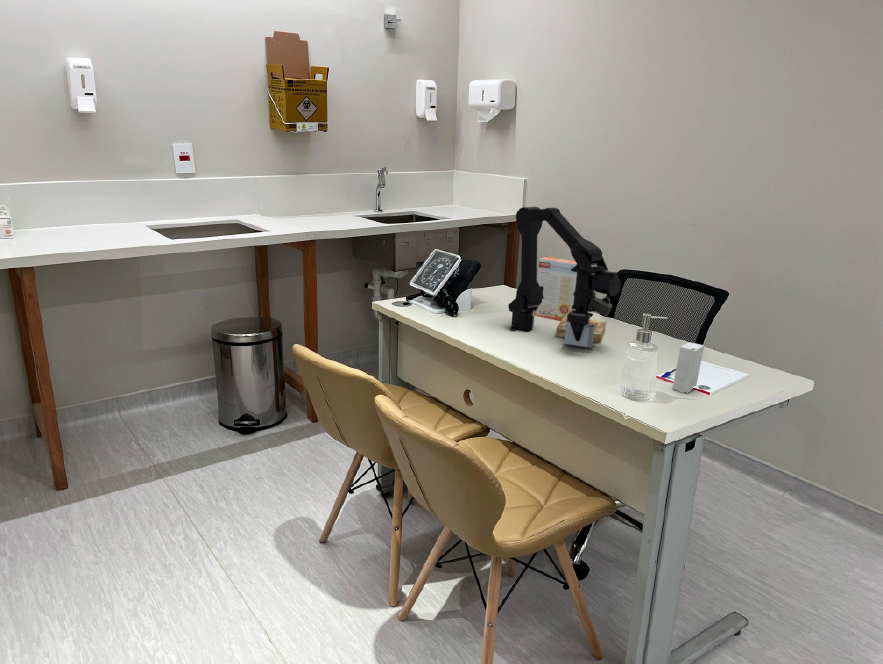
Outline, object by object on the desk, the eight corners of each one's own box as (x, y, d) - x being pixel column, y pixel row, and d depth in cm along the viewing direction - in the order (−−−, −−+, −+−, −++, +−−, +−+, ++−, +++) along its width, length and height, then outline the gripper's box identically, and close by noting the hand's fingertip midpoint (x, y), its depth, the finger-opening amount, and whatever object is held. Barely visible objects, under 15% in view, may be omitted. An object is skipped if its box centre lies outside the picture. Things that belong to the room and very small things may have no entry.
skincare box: (680, 384, 185) (687, 341, 182) (697, 388, 183) (704, 345, 179) (671, 389, 181) (678, 345, 177) (688, 394, 178) (696, 350, 175)
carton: (554, 338, 218) (556, 327, 217) (563, 325, 233) (564, 315, 232) (599, 345, 214) (601, 334, 213) (605, 331, 229) (606, 320, 228)
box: (564, 343, 209) (566, 324, 208) (566, 339, 214) (568, 320, 212) (590, 347, 207) (593, 328, 205) (592, 343, 211) (595, 324, 209)
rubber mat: (560, 349, 208) (560, 348, 208) (565, 341, 216) (565, 340, 216) (590, 354, 205) (591, 353, 205) (594, 346, 214) (594, 344, 213)
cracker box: (577, 320, 241) (584, 261, 234) (570, 324, 236) (577, 264, 229) (540, 313, 248) (546, 255, 241) (533, 316, 243) (539, 257, 236)
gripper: (609, 299, 194) (602, 351, 199) (615, 285, 211) (608, 334, 216) (569, 293, 198) (563, 345, 202) (578, 281, 215) (572, 329, 219)
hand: (578, 338), depth 210 cm, fingers closed on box, 4 cm apart
